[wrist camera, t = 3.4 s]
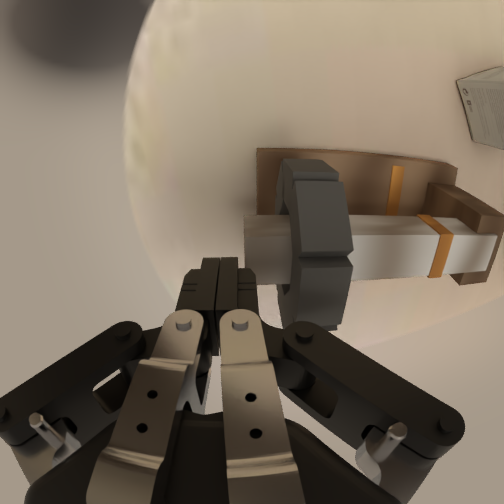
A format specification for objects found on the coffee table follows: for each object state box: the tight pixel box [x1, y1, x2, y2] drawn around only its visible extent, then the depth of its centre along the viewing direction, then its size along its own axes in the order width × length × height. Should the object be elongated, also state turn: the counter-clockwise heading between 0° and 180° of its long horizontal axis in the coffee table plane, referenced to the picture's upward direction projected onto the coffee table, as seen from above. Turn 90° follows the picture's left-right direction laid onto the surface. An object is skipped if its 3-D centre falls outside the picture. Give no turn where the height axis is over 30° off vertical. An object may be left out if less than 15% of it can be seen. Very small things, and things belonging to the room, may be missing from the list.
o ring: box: [275, 159, 354, 331], centre depth 15 cm, size 2×9×9 cm, turn 0°
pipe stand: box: [244, 148, 504, 285], centre depth 18 cm, size 17×8×8 cm, turn 90°
